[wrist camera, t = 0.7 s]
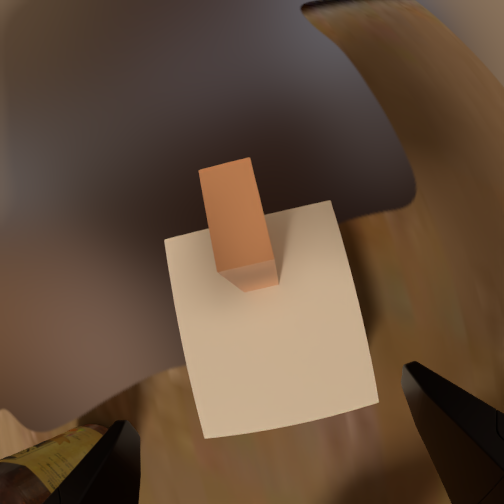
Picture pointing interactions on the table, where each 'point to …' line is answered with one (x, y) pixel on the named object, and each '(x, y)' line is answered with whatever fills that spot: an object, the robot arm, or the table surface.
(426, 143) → the table surface
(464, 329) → the table surface
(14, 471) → the sauce bottle
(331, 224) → the lid
